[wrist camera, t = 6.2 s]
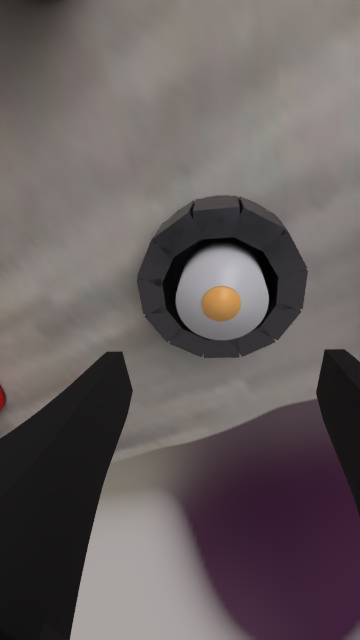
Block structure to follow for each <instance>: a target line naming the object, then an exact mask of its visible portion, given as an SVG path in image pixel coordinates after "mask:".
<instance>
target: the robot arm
mask: <svg viewBox="0 0 360 640" xmlns="http://www.w3.org/2000/svg"><path fill="white" fill-rule="evenodd" d="M132 391H133V390H132V386H131V383H130V379H129V375H128V371H127V368H126V364H125V360H124V357H123V353H122V352H106V353H105V354H104V355H103V356H102V357H100V358H99V359H98V360H97V361H96V362H95V363H94V364H93V365H92V366H91V367H90V368H88V369H87V370H86V371H85V372H84V373H83V374H82V375H81V376H80V377H79V378H77V379H76V380H75V381H74V382H73V383H72V384H71V385H70V386H69V387H68V388H66V389H65V390H64V391H63V392H62V393H60V394H59V395H58V396H57V397H56V398H54V399H53V400H52V401H51V402H50V403H48V404H47V405H46V406H45V407H44V408H42V409H41V410H40V411H38V412H37V413H36V414H35V415H33V416H32V417H31V418H29V419H28V420H27V421H25V422H24V423H22V424H21V425H20V426H18V427H17V428H15V429H14V430H13V431H11V432H10V433H8V434H7V435H5V436H4V437H2V438H0V640H70V635H71V629H72V623H73V618H74V613H75V607H76V602H77V597H78V591H79V586H80V581H81V576H82V571H83V567H84V562H85V557H86V553H87V547H88V543H89V539H90V535H91V531H92V526H93V522H94V518H95V514H96V510H97V506H98V502H99V498H100V494H101V490H102V486H103V483H104V480H105V477H106V474H107V470H108V468H109V465H110V462H111V460H112V457H113V454H114V451H115V448H116V446H117V443H118V440H119V437H120V435H121V432H122V429H123V426H124V423H125V420H126V417H127V414H128V410H129V406H130V401H131V396H132ZM316 394H317V398H318V402H319V406H320V409H321V414H322V417H323V421H324V423H325V426H326V428H327V431H328V433H329V436H330V439H331V441H332V444H333V446H334V448H335V451H336V453H337V456H338V458H339V461H340V463H341V466H342V468H343V471H344V473H345V475H346V478H347V481H348V483H349V486H350V488H351V491H352V494H353V497H354V499H355V502H356V505H357V509H358V512H359V515H360V362H359V361H358V360H357V359H356V358H354V357H353V356H352V355H351V354H350V353H348V352H347V351H346V350H344V349H334V350H325V352H324V357H323V362H322V367H321V371H320V376H319V381H318V386H317V391H316Z"/></svg>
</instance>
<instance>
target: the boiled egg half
mask: <svg viewBox="0 0 360 640" xmlns="http://www.w3.org/2000/svg"><path fill="white" fill-rule="evenodd" d="M268 303H269V295H268V290H267V287H266V284H265V280H264V277H263V274H262V271H261V267H260V264H259V261H258V258H257V256H256V254H255V252H254V251H253V249H252V248H251V247H250V246H249V245H248V244H247V243H245V242H243V241H241V240H239V239H237V238H235V237H230V238H216V239H205V240H203V241H201V242H200V243H198V244H197V245H196V246H195V247H194V248H193V249H192V250H191V251H190V253H189V255H188V256H187V259H186V261H185V264H184V268H183V272H182V275H181V279H180V282H179V286H178V289H177V293H176V307H177V311H178V314H179V316H180V318H181V320H182V321H183V323H184V324H185V325H186V326H187V327H188V328H189V329H190V330H191V331H193V332H194V333H196V334H198V335H200V336H202V337H205V338H208V339H213V340H231V339H235V338H239V337H241V336H244V335H246V334H248V333H249V332H251V331H252V330H253V329H255V328H256V327H257V326H258V325H259V324H260V322H261V321H262V320H263V318H264V316H265V314H266V312H267V309H268Z"/></svg>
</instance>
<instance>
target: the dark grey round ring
mask: <svg viewBox="0 0 360 640" xmlns="http://www.w3.org/2000/svg"><path fill="white" fill-rule="evenodd" d="M230 237H235V238H237V239H239V240H241V241H243V242H245V243H247V244H248V245H249V246H250V247H251V248H252V249H253V251H254V252H255V254H256V256H257V258H258V261H259V264H260V267H261V271H262V274H263V277H264V280H265V284H266V287H267V290H268V295H269V303H268V309H267V312H266V314H265V316H264V318H263V320H262V321H261V322H260V324H259V325H258V326H257V327H256V328H255V329H253V330H252V331H251V332H249V333H248V334H246V335H244V336H241V337H239V338H235V339H231V340H213V339H208V338H205V337H202V336H200V335H198V334H196V333H194V332H193V331H191V330H190V329H189V328H188V327H187V326H186V325H185V324H184V323H183V321H182V320H181V318H180V316H179V314H178V311H177V307H176V293H177V289H178V286H179V282H180V279H181V275H182V272H183V268H184V264H185V261H186V259H187V256H188V255H189V253H190V251H191V250H192V249H193V248H194V247H195V246H196V245H197V244H198V243H200V242H201V241H203V240H205V239H216V238H230ZM306 268H307V267H306V265H305V263H304V261H303V259H302V257H301V255H300V253H299V251H298V250H297V248H296V246H295V244H294V242H293V240H292V238H291V236H290V234H289V233H288V231H287V229H286V228H285V227H284V225H283V224H282V223H281V221H280V220H279V219H278V217H276V215H275V214H273V213H271V212H269V211H267V210H266V209H265V208H263V207H261V206H260V205H258V204H257V203H254V202H252V201H250V200H247V199H244V198H242V197H237V196H212V197H206V198H203V199H197V200H196V201H192V202H191V203H190V204H188V205H186V206H185V207H183V208H182V209H180V210H179V211H178V212H176V213H175V214H174V215H173V216H172V217H171V218H170V219H168V220H167V221H166V222H164V223H163V224H162V226H161V227H160V228H159V230H158V231H157V233H156V234H155V236H154V237H153V239H152V240H151V242H150V245H149V247H148V250H147V253H146V255H145V258H144V260H143V263H142V265H141V268H140V270H139V273H138V276H137V277H138V279H137V283H138V288H139V293H140V298H141V303H142V308H143V313H144V314H146V316H145V317H146V318H147V319H148V321H149V322H150V323H151V324H152V325H153V326H154V327H155V329H156V330H157V331H158V332H159V333H160V334H161V335H162V337H163V338H164V339H165V340H166V341H167V342H168V341H170V344H172V345H174V346H176V347H179V348H181V349H183V350H186V351H188V352H190V353H193V354H195V355H197V356H200V357H201V356H202V355H203V353H204V358H222V357H239V353H240V354H241V356H242V357H243V356H245V355H247V354H250V353H252V352H254V351H256V350H259V349H261V348H263V347H265V346H268V345H270V344H272V343H274V342H275V340H274V339H276V340H278V339H279V338H280V337H281V336H282V334H283V333H284V332H285V331H286V330H287V328H288V327H289V326H290V325H291V324H292V322H293V321H294V320H295V319H296V317H297V316H298V315H299V314H300V313H301V311H300V309H303V302H304V294H305V287H306V280H307V273H308V271H307V269H306Z"/></svg>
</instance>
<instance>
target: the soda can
mask: <svg viewBox="0 0 360 640" xmlns="http://www.w3.org/2000/svg"><path fill="white" fill-rule="evenodd" d="M3 406H4V394H3V391H2V389H1V387H0V411H1V410H2V409H3Z"/></svg>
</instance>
